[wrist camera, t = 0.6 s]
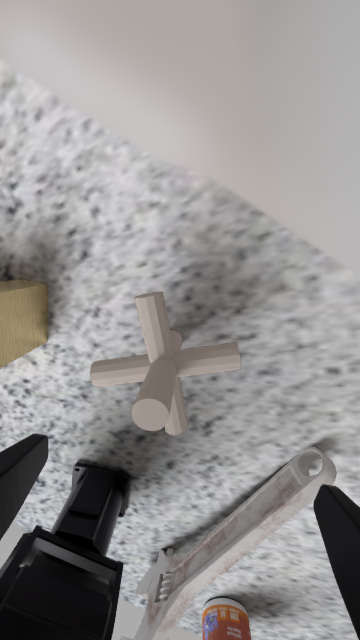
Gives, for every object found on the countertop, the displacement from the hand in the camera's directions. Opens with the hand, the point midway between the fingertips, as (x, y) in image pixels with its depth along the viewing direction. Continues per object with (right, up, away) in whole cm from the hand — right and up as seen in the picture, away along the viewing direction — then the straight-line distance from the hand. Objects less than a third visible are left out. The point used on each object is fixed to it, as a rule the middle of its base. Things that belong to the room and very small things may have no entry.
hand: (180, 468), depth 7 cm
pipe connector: (-1, +3, +13) cm, 13 cm away
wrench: (+4, -18, +19) cm, 27 cm away
